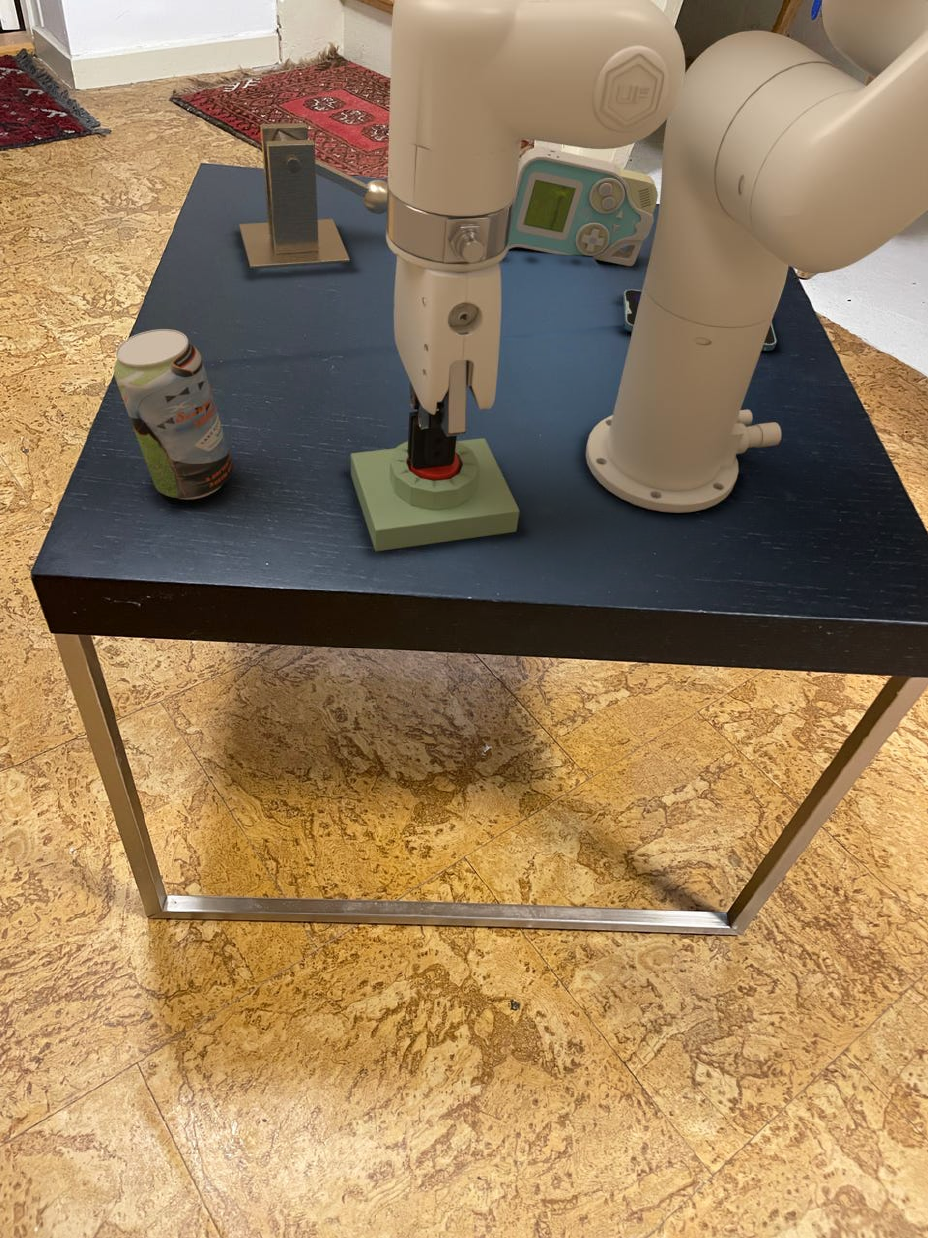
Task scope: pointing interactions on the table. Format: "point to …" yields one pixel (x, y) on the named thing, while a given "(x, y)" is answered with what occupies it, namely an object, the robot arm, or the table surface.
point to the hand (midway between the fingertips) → (430, 460)
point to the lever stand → (291, 206)
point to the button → (438, 471)
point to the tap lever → (352, 183)
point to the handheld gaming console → (580, 206)
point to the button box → (432, 498)
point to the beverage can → (173, 413)
